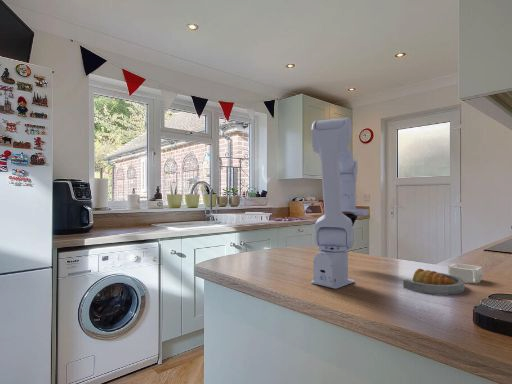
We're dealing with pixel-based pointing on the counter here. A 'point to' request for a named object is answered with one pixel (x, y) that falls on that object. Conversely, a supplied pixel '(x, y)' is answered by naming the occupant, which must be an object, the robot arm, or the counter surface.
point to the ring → (436, 286)
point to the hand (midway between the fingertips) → (347, 236)
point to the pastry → (431, 278)
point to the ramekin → (466, 272)
